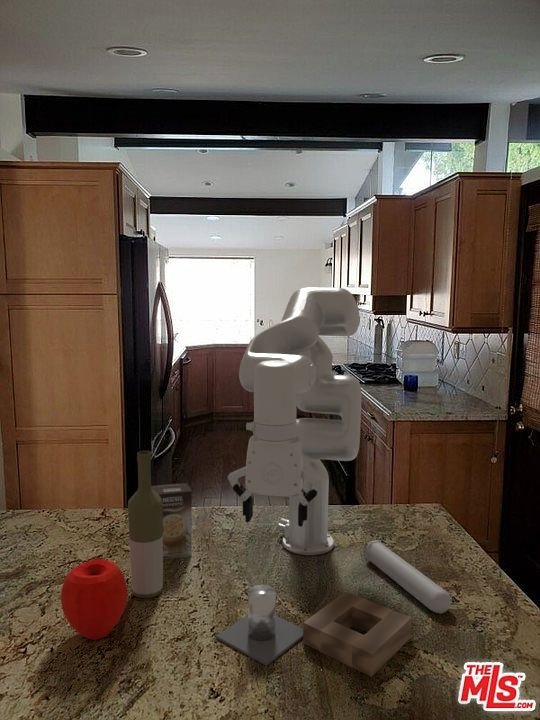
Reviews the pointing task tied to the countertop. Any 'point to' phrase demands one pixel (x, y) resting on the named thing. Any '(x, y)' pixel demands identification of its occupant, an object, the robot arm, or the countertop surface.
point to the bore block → (352, 647)
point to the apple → (94, 597)
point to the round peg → (261, 612)
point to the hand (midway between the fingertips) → (275, 521)
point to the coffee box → (176, 519)
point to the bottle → (146, 533)
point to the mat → (262, 650)
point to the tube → (408, 577)
